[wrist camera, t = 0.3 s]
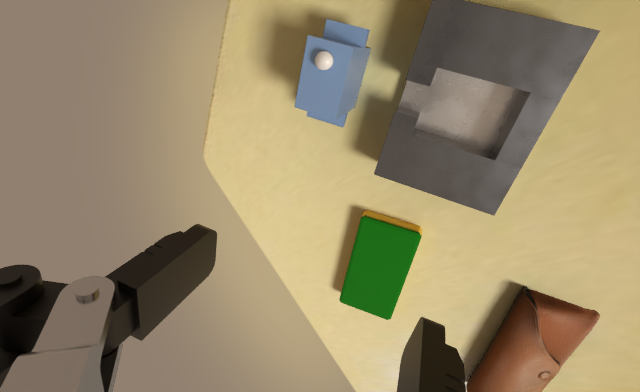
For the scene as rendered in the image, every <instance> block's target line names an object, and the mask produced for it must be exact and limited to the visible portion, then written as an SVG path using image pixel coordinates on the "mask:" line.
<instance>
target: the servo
mask: <svg viewBox="0 0 640 392" xmlns="http://www.w3.org/2000/svg"><path fill="white" fill-rule="evenodd" d="M369 31H370V30H368V29H364V28H360V27H356V26H352V25H348V24H344V23H341V22H337V21H333V20H329V19H326V24H325V29H324V34H323V37H319V36H311V35H308V37H307V42H306V48H305V53H304V58H303V64H302V69H301V75H300V80H299V85H298V91H297V96H296V102H295V107H296V108H299V109H302V110H305V111H308V112H307V116H309V117H312V118H315V119H318V120H321V121H324V122H327V123H330V124H334V125H337V126H340V127H344V125H345V121H346V118H347V114H348V112H349V111H350V110H352V109H353V108H355V105H356V101H357V98H358V94H359V90H360V87H361V83H362V80H363V76H364V72H365V69H366V65H367V61H368V58H369V54H370V50H371V48H368V47H365V46H366V42H367V39H368V35H369Z"/></svg>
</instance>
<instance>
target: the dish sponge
mask: <svg viewBox="0 0 640 392" xmlns="http://www.w3.org/2000/svg"><path fill="white" fill-rule="evenodd" d="M421 235H422V229H421V227H420V226H417V225H414V224H411V223H408V222H404V221H401V220H398V219H395V218H391V217H388V216H385V215H382V214H379V213H375V212H372V211H369V210H366V211H364V213H363V215H362V217H361V220H360V224H359V227H358V231H357V235H356V239H355V243H354V246H353V250H352V254H351V258H350V262H349V265H348V269H347V273H346V277H345V281H344V284H343V288H342V292H341V296H340V301H341V303H344V304H347V305H349V306H352V307H355V308H357V309H360V310H363V311H365V312H368V313H371V314H373V315H376V316H379V317H381V318H384V319H387V320H388V319H391V316H392V314H393V311H394V308H395V306H396V303H397V301H398V298H399V295H400V293H401V290H402V287H403V285H404V282H405V279H406V277H407V274H408V271H409V269H410V266H411V263H412V261H413V258H414V255H415V253H416V250H417V247H418V245H419V242H420V239H421Z"/></svg>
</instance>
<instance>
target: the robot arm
mask: <svg viewBox="0 0 640 392" xmlns="http://www.w3.org/2000/svg"><path fill="white" fill-rule="evenodd" d="M216 242H217V233H216V231H214V230H212V229H209V228H207V227H204V226H202V225H200V224H196V225H194V226H193V227H191V228H190V229H188V230H187V231H186V232H184V233H183V232H181V231H179V232H176V233H173V234H170V235H167V236H165V237H163V238H162V239H161V240H159V241H158V242H156V243H155V244H154V245H152V246H150V247H149V248H147V249H146V250H145V251H144V252H141V253H140V254H138V255H137V256H135V257H134V258H132V259H131V260H129V261H128V262H127V263H125V264H123V265H122V266H121V267H119V268H118V269H116V270H115V271H113V272H112V273H110V274H109V275H107V276H105V277H101V276H90V277H85V278H81V279H79V280H76V281H74V282H72V283H70V284H64V283H56V282H49V281H42V278H41V274H40V271H39V270H38V269H37V268H36V267H34V266H30V265H13V266H9V267H4V268H1V269H0V392H112V391H113V387H114V382H115V378H116V373H117V369H118V364H119V359H120V355H121V350H122V342H123V341H124V340H125V339H126V338H127V337H129V336H130V335H131V336H133V337H135V338H137V339H139V340H141V341H142V340H143V339H144V338H145V337H146V336H147V335H148V334H149V333H150V332H151V331H152V330H153V329H154V328H155V327H156V326H157V325H158V324H159V323H160V322H161V321H162V320H163V319H164V318H165V317H166V316H167V315H169V314H170V313H171V312H172V311H173V310H174V309H175V308H176V307H177V305H179V304H180V303H181V302H182V301H183V300H184V299H185V298H186V297H187V296H188V295H189V294H190V293H191V292H192V291H193V290H194V289H195V288H196V287H197V286H198V285H199V284H200V283H202V281H204V280H205V279H206V277H208V276H209V274H210V273H211V271H212V269H213V267H214V264H215V257H216ZM464 383H465V373H464V364H463V362H462V360H461V358H460V356H459V353H458V351H457V349H456V348H454V347H451V346H449V345H447V344H445V327H444V326H443V325H441V324H438V323H436V322H434V321H431V320H429V319H426V318H424V317H421V318H420V319H419V321H418V323H417V325H416V327H415V329H414V331H413V333H412V335H411V337H410V338H409V340H408V342H407V344H406V346H405V349H404V352H403V355H402V359H401V364H400V372H399V380H398V387H397V392H466V387H465V384H464Z"/></svg>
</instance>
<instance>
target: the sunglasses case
mask: <svg viewBox="0 0 640 392" xmlns="http://www.w3.org/2000/svg"><path fill="white" fill-rule="evenodd" d="M599 317H600V315H599V313H598V312H596V311H595V310H590V309H585V308H582V307H580V306H577V305H574V304H571V303H568V302H566V301H563V300H560V299H557V298H554V297H551V296H548V295H545V294H542V293H539V292H537V291H533V290H529V289H527V286H526V287H524V288H523V289H522V290H521V291H520V293H519V294H518V296H517V298H516V300H515V301H514V303H513V305H512V307H511V309H510V311H509V313H508V315H507V316H506V318H505V320H504V321H503V323H502V325H501V327H500V329H499V330H498V332H497V334H496V336H495V337H494V339H493V341H492V342H491V344H490V346H489V348H488V349H487V351H486V353H485V354H484V356H483V358H482V360H481V361H480V363H479V364H478V366H477V368H476V369H475V371H474V372H473V374H472V375H471V377H470V379H469V381H468V383H467V392H541V391H542V390H543V389H544V388H545V387H546V385H547V384H548V383H549V382H550V381H551V380H552V379H553V378H554V377H555V376H556V375H557V373H558V372H559V370H560V368H561V366H562V365H563V364H564V363H565V361H566V360H567V359H568V358H569V356H570V355H571V354H572V353H573V352H574V351H575V349H576V348H577V347H578V346H579V344H580V343H581V342H582V341H583V340H584V338H585V337H586V336H587V335H588V333H589V332H590V331H591V330H592V328H593V327H594V326H595V324H596V323H597V321H598V319H599Z"/></svg>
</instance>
